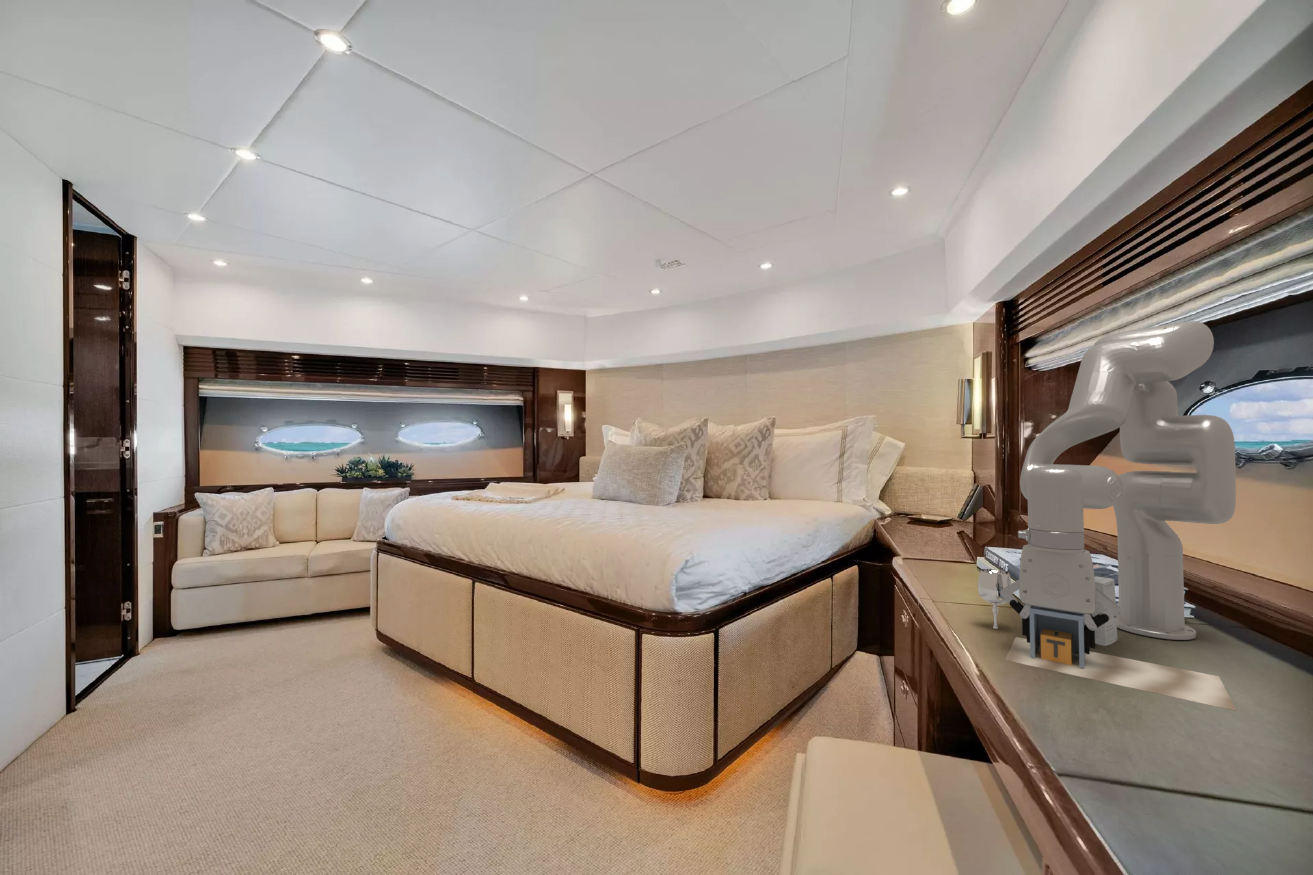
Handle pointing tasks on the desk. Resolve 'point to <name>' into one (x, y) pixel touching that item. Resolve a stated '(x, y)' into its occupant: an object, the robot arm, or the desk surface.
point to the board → (1133, 675)
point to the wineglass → (993, 588)
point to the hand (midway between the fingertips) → (1057, 645)
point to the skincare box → (1109, 629)
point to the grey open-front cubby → (1057, 629)
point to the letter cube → (1056, 646)
